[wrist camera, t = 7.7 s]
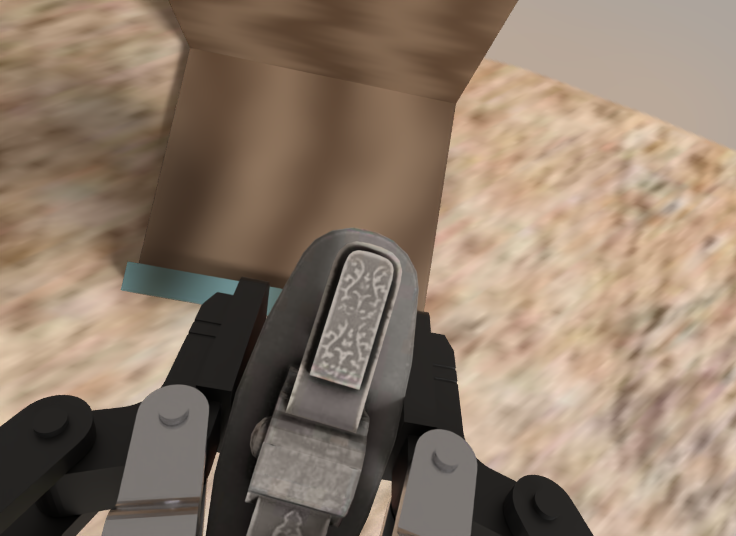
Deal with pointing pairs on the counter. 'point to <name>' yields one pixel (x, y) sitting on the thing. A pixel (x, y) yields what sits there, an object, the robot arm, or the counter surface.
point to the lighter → (320, 394)
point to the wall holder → (306, 135)
